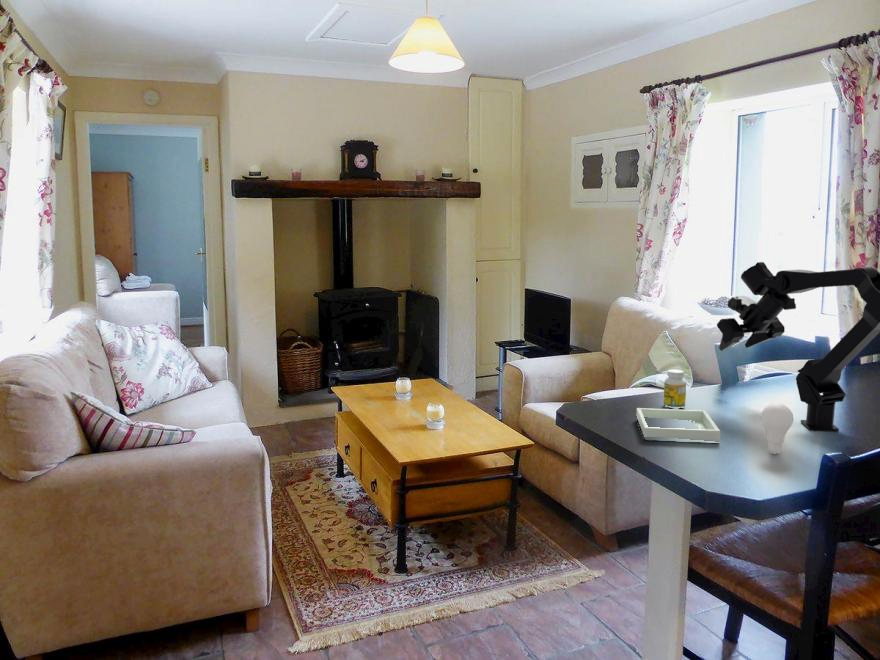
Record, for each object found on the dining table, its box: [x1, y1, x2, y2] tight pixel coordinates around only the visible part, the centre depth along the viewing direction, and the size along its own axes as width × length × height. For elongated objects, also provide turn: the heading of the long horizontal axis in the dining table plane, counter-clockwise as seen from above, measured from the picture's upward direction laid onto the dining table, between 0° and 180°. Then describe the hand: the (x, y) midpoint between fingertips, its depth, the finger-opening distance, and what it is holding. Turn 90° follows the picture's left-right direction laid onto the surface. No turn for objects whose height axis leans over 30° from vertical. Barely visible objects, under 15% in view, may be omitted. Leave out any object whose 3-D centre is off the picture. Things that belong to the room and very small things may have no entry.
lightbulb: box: [760, 402, 794, 454], centre depth 149 cm, size 6×6×11 cm
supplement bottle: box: [663, 369, 687, 408], centre depth 185 cm, size 5×5×10 cm
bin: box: [636, 407, 721, 443], centre depth 165 cm, size 16×16×3 cm
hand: (733, 348), depth 190 cm, fingers open, 9 cm apart
